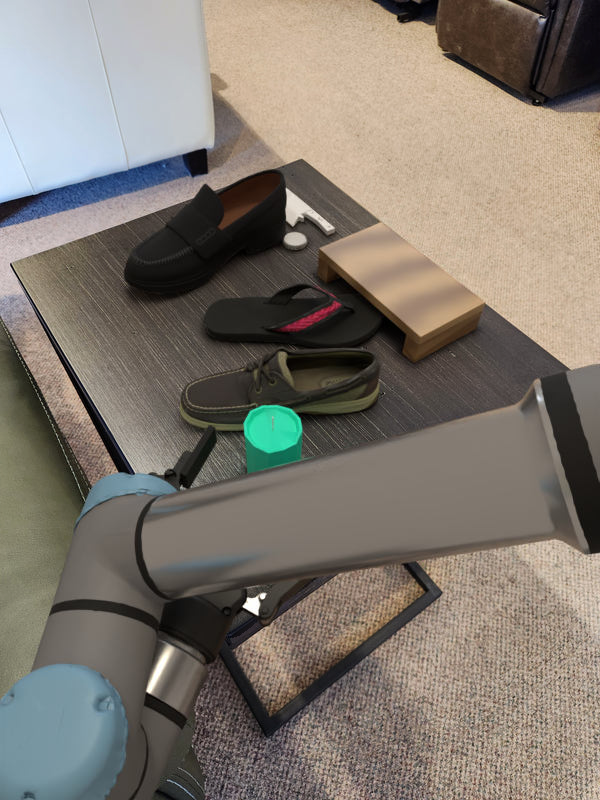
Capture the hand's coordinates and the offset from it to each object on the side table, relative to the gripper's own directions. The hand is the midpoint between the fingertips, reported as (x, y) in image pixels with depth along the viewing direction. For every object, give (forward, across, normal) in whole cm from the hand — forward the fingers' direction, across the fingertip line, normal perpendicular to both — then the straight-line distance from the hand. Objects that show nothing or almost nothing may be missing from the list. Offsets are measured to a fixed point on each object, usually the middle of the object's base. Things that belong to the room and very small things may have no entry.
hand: (271, 453), depth 63 cm
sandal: (+25, -7, -6) cm, 26 cm away
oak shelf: (+36, +4, -6) cm, 36 cm away
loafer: (+33, -24, -6) cm, 42 cm away
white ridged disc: (+43, -14, -6) cm, 45 cm away
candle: (0, 0, -6) cm, 7 cm away
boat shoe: (+12, -4, -6) cm, 14 cm away
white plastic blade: (+50, -17, -6) cm, 53 cm away
